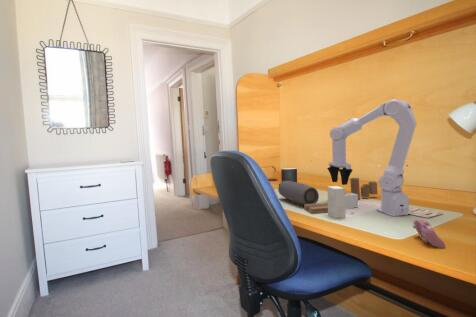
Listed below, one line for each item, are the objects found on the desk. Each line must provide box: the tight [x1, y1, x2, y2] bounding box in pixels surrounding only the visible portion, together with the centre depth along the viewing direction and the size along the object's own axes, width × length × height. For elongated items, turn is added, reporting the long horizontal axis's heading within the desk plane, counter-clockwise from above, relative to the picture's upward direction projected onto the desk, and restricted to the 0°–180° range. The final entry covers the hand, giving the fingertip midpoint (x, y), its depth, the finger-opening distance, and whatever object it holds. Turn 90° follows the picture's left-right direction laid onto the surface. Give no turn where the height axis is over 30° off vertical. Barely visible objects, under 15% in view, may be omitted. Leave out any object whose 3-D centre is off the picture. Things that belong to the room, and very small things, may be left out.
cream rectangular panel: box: [345, 211, 356, 215], centre depth 108 cm, size 6×8×1 cm
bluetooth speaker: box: [277, 180, 320, 206], centre depth 129 cm, size 23×9×10 cm, turn 20°
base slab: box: [303, 202, 328, 215], centre depth 113 cm, size 8×14×2 cm, turn 99°
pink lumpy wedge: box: [412, 219, 446, 249], centre depth 76 cm, size 10×5×7 cm, turn 163°
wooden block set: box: [349, 177, 378, 200], centre depth 134 cm, size 18×9×10 cm, turn 84°
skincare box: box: [327, 185, 346, 220], centre depth 104 cm, size 6×4×12 cm
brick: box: [345, 192, 359, 210], centre depth 117 cm, size 4×8×6 cm, turn 105°
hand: (339, 183), depth 123 cm, fingers open, 7 cm apart
